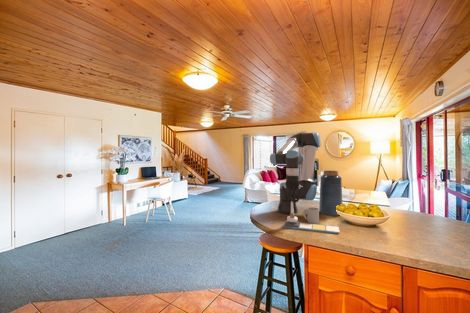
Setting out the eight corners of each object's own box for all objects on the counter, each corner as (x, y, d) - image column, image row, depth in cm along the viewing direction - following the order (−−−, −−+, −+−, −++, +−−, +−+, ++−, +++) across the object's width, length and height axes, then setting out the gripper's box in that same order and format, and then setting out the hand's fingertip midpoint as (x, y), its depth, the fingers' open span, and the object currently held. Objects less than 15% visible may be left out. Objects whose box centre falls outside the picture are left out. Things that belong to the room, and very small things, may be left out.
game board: (286, 222, 145) (286, 219, 145) (338, 228, 133) (338, 224, 133) (283, 227, 135) (283, 224, 134) (339, 234, 123) (339, 231, 123)
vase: (321, 215, 160) (321, 171, 159) (317, 209, 176) (317, 170, 175) (345, 216, 156) (345, 172, 155) (339, 210, 172) (339, 170, 171)
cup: (317, 224, 140) (317, 210, 139) (301, 222, 145) (301, 208, 145) (320, 221, 146) (320, 208, 146) (304, 219, 151) (304, 206, 151)
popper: (287, 218, 142) (287, 211, 142) (298, 219, 140) (298, 212, 140) (286, 221, 136) (286, 214, 136) (297, 222, 134) (297, 215, 134)
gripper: (280, 175, 136) (280, 213, 136) (302, 175, 131) (302, 215, 132) (282, 174, 143) (282, 210, 143) (303, 174, 138) (303, 212, 139)
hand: (292, 212), depth 138 cm, fingers closed
